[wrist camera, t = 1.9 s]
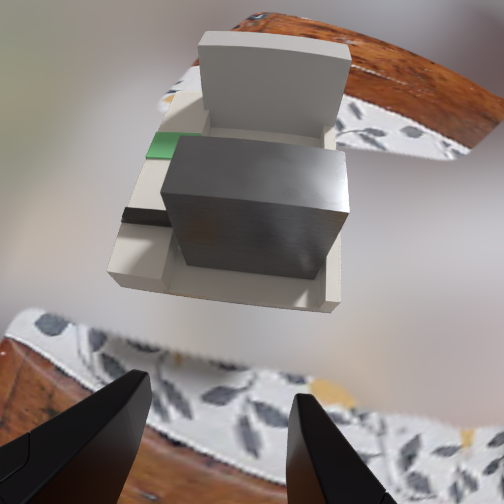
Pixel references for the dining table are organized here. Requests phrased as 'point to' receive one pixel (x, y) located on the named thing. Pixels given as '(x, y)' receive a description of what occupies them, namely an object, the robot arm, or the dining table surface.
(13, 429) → the dining table surface
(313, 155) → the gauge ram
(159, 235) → the gauge track
